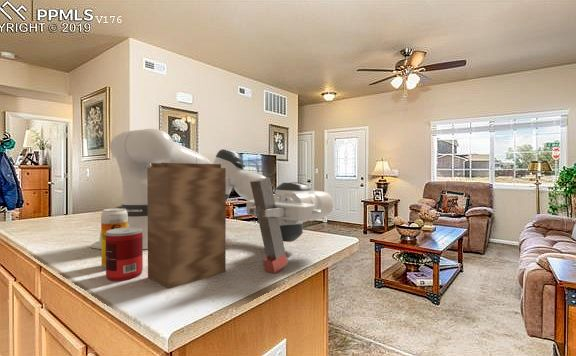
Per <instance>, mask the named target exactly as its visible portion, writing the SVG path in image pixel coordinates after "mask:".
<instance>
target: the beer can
mask: <svg viewBox="0 0 576 356" xmlns="http://www.w3.org/2000/svg"><path fill="white" fill-rule="evenodd" d="M100 216H101V218H100V223H101V224H100V228H101V229H100V233H101V249H100V250H101V265H102V266H103V268H104V269H106V231H108V230H112V229H117V228H126V227H128V213H127V211H126V209H124V208H107V209H102V212H101V214H100Z"/></svg>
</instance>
